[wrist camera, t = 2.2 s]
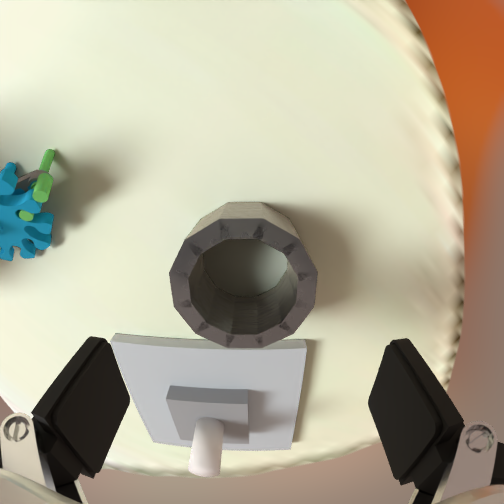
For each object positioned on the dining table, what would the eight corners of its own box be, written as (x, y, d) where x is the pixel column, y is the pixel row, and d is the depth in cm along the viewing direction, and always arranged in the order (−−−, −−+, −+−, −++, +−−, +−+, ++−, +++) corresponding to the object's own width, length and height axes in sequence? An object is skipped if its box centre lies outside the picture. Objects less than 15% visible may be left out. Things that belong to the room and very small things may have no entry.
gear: (-5, 275, 16) (-84, 215, 7) (7, 217, 18) (-54, 151, 9) (90, 249, 16) (-2, 147, 7) (98, 183, 19) (39, 82, 10)
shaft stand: (115, 333, 19) (74, 397, 12) (304, 339, 19) (323, 418, 12) (155, 435, 24) (140, 487, 17) (289, 441, 23) (295, 498, 17)
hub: (184, 203, 16) (163, 220, 12) (305, 202, 15) (321, 218, 12) (194, 308, 18) (180, 346, 14) (299, 308, 18) (309, 346, 14)
